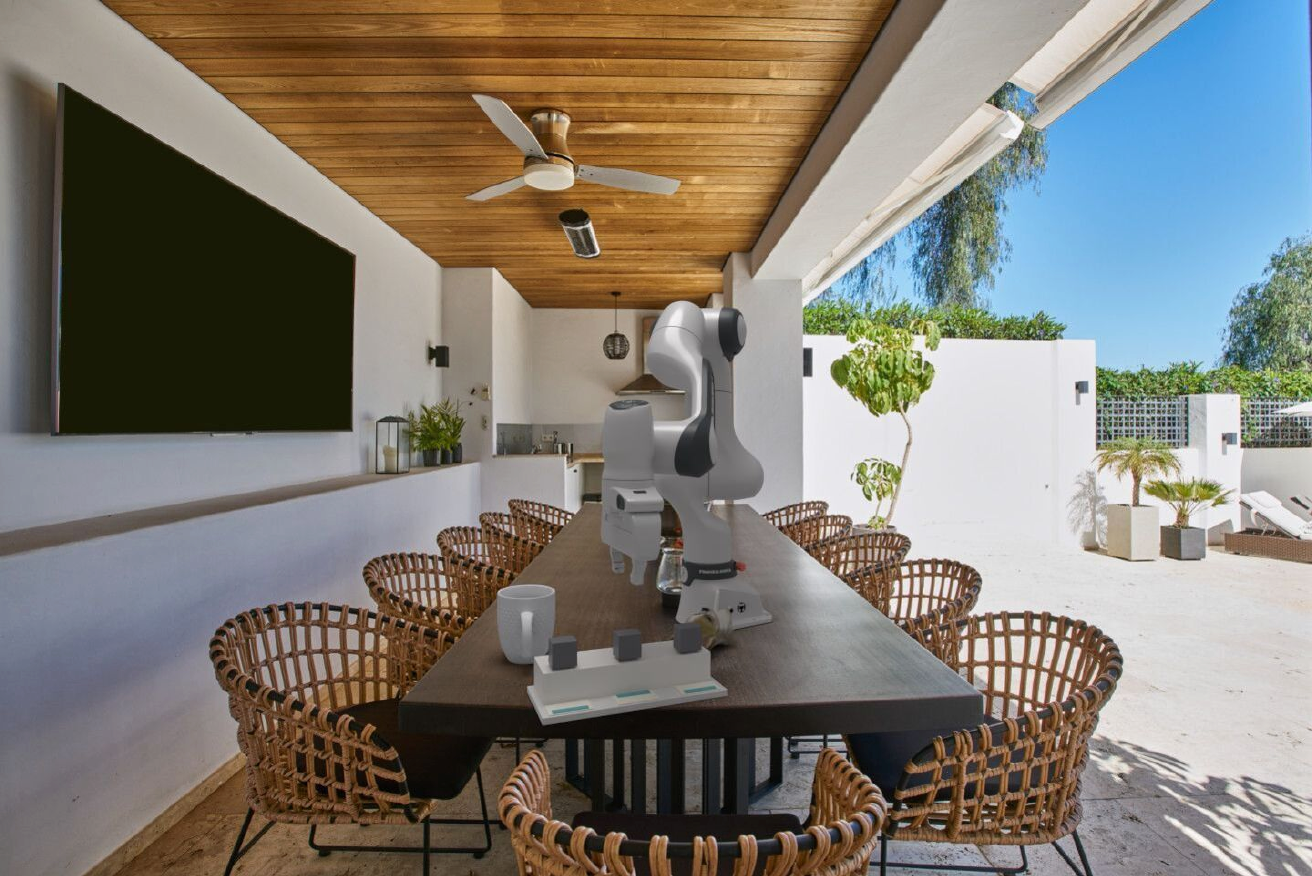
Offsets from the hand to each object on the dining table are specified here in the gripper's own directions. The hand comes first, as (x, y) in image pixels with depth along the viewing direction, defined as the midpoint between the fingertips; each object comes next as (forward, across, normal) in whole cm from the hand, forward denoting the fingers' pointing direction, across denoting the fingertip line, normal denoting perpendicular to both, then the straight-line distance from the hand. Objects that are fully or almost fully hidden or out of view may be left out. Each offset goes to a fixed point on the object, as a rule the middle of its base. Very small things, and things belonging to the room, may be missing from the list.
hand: (627, 578), depth 109 cm
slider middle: (+13, +1, 0) cm, 13 cm away
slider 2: (+13, +1, +11) cm, 17 cm away
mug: (+19, -21, -13) cm, 31 cm away
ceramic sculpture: (+20, -15, +22) cm, 33 cm away
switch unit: (+19, +1, 0) cm, 19 cm away
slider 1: (+13, +1, -11) cm, 17 cm away
